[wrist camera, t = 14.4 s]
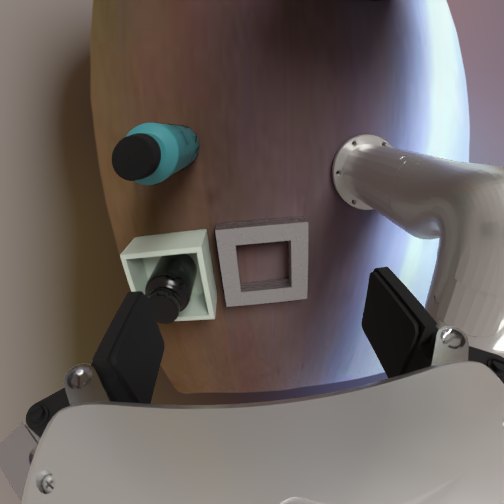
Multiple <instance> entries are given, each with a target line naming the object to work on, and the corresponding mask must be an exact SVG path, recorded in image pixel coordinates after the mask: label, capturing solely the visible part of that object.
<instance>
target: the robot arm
mask: <svg viewBox="0 0 504 504" xmlns="http://www.w3.org/2000/svg"><path fill="white" fill-rule="evenodd" d="M352 141H353V144H352ZM382 144H383V145H382ZM337 171H338V173H337V174H336V172H337ZM332 177H333V183H334V186H335V189H336V190H337V192H338V194H339V195H340V196H341V198H342V199H343V200H344V201H345V202H347V203H348V204H349V205H351V206H353V207H355V208H358V209H362V210H372V209H374V210H376V211H377V212H379V213H380V214H382V215H383V216H385V217H386V218H388V219H389V220H390V221H392V222H393V223H395V224H396V225H398V226H399V227H400V228H402V229H403V230H405V231H406V232H408V233H409V234H411V235H413V236H414V237H417V238H420V239H436V238H440V240H439V247H438V252H437V260H436V265H435V269H434V273H433V277H432V281H431V285H430V289H429V293H428V296H427V300H426V304H425V308H424V307H423V306H422V305H421V303H420V302H419V301H418V300H417V299H416V298H415V297H414V295H413V294H412V293H411V292H410V291H409V290H408V289H407V287H406V286H405V285H404V284H403V283H402V282H401V281H400V280H399V279H398V278H397V276H396V275H395V274H394V273H393V272H392V271H391V270H390V269H389V268H388V267H382V268H375V269H374V271H373V272H371V273H370V277H369V284H368V290H367V296H366V302H365V308H364V313H363V318H362V328H363V330H364V332H365V334H366V336H367V338H368V340H369V342H370V343H371V345H372V347H373V349H374V351H375V353H376V355H377V357H378V359H379V361H380V363H381V365H382V367H383V368H384V370H385V372H386V374H387V376H388V378H389V379H385V380H381V381H378V382H374V383H370V384H366V385H362V386H358V387H354V388H349V389H344V390H339V391H334V392H329V393H324V394H318V395H313V396H306V397H300V398H293V399H285V400H277V401H267V402H256V403H244V404H226V405H162V404H150V403H151V399H152V395H153V391H154V386H155V382H156V378H157V375H158V371H159V367H160V363H161V359H162V356H163V352H164V341H163V338H162V336H161V333H160V330H159V328H158V325H157V322H156V319H155V316H154V313H153V311H152V308H151V305H150V302H149V299H148V296H147V295H146V294H144V293H143V292H142V291H135V292H128V294H127V295H126V297H125V299H124V301H123V302H122V304H121V306H120V308H119V310H118V311H117V313H116V315H115V317H114V319H113V321H112V322H111V324H110V326H109V328H108V330H107V332H106V334H105V335H104V337H103V339H102V341H101V343H100V345H99V347H98V349H97V351H96V353H95V355H94V357H93V362H92V364H91V365H89V364H79V365H76V366H74V367H73V368H71V369H70V370H69V371H68V372H67V374H66V375H65V378H64V387H65V388H63V389H61V390H60V391H58V392H56V393H54V394H52V395H50V396H49V397H47V398H45V399H43V400H41V401H39V402H37V403H36V404H34V405H33V406H32V407H31V408H30V409H29V410H28V412H27V415H26V424H24V423H23V422H22V423H21V424H20V425H19V426H18V427H17V428H16V429H15V430H14V431H13V432H12V433H11V434H10V435H9V436H8V437H7V438H6V439H5V440H4V441H2V442H1V444H0V467H1V469H2V471H3V472H4V474H5V476H6V478H7V479H8V481H9V483H10V484H11V486H12V488H13V489H14V491H15V492H16V494H17V495H18V497H19V498H20V500H21V501H22V502H21V504H504V167H501V166H496V165H488V164H476V163H466V162H458V161H452V160H447V159H442V158H438V157H433V156H429V155H424V154H420V153H415V152H411V151H406V150H401V149H396V148H393V147H392V146H391V145H390V144H389V143H388V142H387V141H385V140H384V139H382V138H380V137H378V136H375V135H370V134H362V135H357V136H354V137H352V138H350V139H348V140H347V141H346V142H344V144H343V145H342V146H341V147H340V148H339V150H338V151H337V153H336V155H335V158H334V161H333V166H332ZM352 200H353V202H352Z"/></svg>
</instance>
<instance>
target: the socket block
mask: <svg viewBox="0 0 504 504" xmlns="http://www.w3.org/2000/svg"><path fill="white" fill-rule="evenodd" d="M215 233H216V240H217V247H218V254H219V261H220V268H221V274H222V281H223V287H224V293H225V300H226V306H227V307H231V306H242V305H253V304H264V303H274V302H283V301H292V300H300V299H307V289H308V221H307V220H306V218H305V217H304V216H297V217H285V218H273V219H261V220H250V221H239V222H229V223H219V224H216V229H215ZM278 241H288V266H289V278H286V279H276V280H266V281H256V282H245V283H241V281H240V273H239V264H238V255H237V247H236V245H246V244H257V243H267V242H278Z"/></svg>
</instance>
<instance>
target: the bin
mask: <svg viewBox="0 0 504 504" xmlns="http://www.w3.org/2000/svg"><path fill="white" fill-rule="evenodd" d="M176 254H188V255H189V256H190V257H191V258H192V259H193V260H194V262H195V264H196V268H197V273H196V278H195V282H194V286H193V290H192V294H191V298H190V302H189V304H188V306H187V307H186V308H185V309H184V310H183V311H181V312H179V315H178V317H177V319H176V320H175V321H189V320H206V319H215V313H216V303H217V290H216V284H215V278H214V272H213V266H212V260H211V254H210V248H209V241H208V235H207V229H201V230H192V231H183V232H174V233H166V234H157V235H149V236H141V237H135V238H134V239H133V240H132V241H131V242H130V244H129V245H128V246H127V247H126V248H125V250H124V251H123V252H122V253H121V254H120V257H121V260H122V264H123V267H124V270H125V273H126V277H127V280H128V283H129V286H130V289H131V292H135V291H142V292H143V293H144V294H145V287H146V284H147V282H148V280H149V278H150V276H151V274H152V272H153V270H154V268H155V267H156V265H157V263H158V261H159V259H160V258H161V257H162V256H165V255H176Z"/></svg>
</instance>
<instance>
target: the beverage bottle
mask: <svg viewBox="0 0 504 504" xmlns="http://www.w3.org/2000/svg"><path fill="white" fill-rule="evenodd" d="M198 140H199V139H198V138H197V136H196V133H194V132H193V131H192V130H191V129H189V128H188V127H184V126H183V125H181V126H175V124H172V125H171V124H169V125H166V124H160V123H159V124H158V123H144V124H141V125H138V126H137V127H135V128H133V129H132V130H131V131H130V132H129V133H128V134H127V135H126V137H125V138H123V139H122V140H120V141H119V142H118V144H117V145H116V146H115V148H114V150H113V154H112V165H113V168H114V170H115V172H116V173H117V174H118V175H119V176H120V177H121V178H123V179H125V180H129V181H135V182H137V183H140V184H144V185H153V184H157V183H160V182H162V181H164V180H165V179H167V178H168V177H169V176H171V175H172V174H174V173H176V172H178V171H179V170H181V169H182V168H184V167H186V166H188V165H190V164H191V163H193V162H194V160H196V159H195V158H196V157H197V155H198V151H199V146H200V143H199V141H198ZM184 169H185V168H184ZM182 170H183V169H182ZM174 175H175V174H174Z"/></svg>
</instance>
